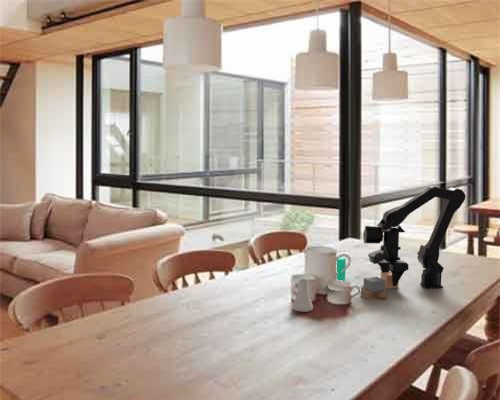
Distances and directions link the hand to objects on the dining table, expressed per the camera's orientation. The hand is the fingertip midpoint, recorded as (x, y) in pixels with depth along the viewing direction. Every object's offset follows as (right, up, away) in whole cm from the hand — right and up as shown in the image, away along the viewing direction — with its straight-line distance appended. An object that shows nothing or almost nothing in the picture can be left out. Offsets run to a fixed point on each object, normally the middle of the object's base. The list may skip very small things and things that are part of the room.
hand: (389, 283), depth 210 cm
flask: (-36, -4, -29) cm, 47 cm away
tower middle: (-9, 0, -15) cm, 18 cm away
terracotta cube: (0, -1, 0) cm, 1 cm away
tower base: (-9, -3, -15) cm, 18 cm away
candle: (-20, -1, +2) cm, 20 cm away
